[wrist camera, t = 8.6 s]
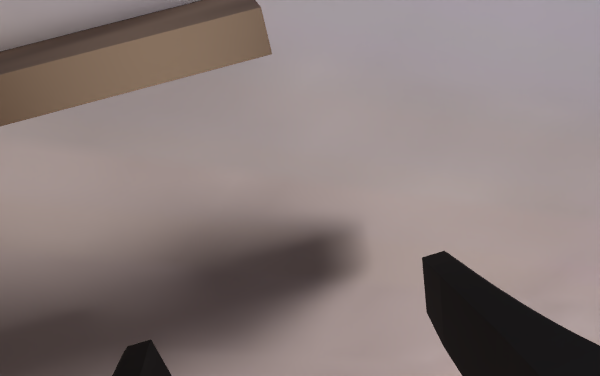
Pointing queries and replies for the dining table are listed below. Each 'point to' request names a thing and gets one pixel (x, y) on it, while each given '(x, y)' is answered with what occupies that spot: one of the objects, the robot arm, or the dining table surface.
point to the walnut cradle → (128, 56)
